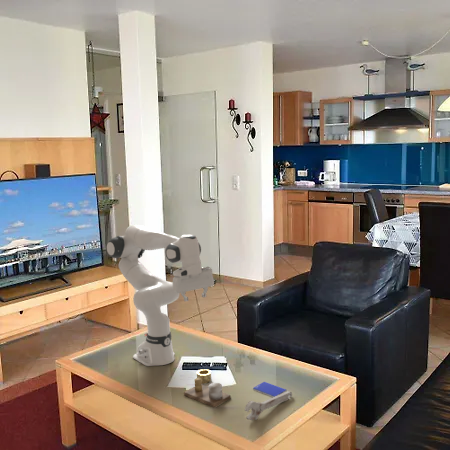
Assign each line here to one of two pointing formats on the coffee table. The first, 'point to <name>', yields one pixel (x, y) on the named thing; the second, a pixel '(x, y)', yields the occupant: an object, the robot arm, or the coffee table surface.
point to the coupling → (204, 375)
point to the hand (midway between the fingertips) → (195, 299)
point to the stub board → (207, 393)
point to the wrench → (265, 405)
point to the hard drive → (269, 389)
